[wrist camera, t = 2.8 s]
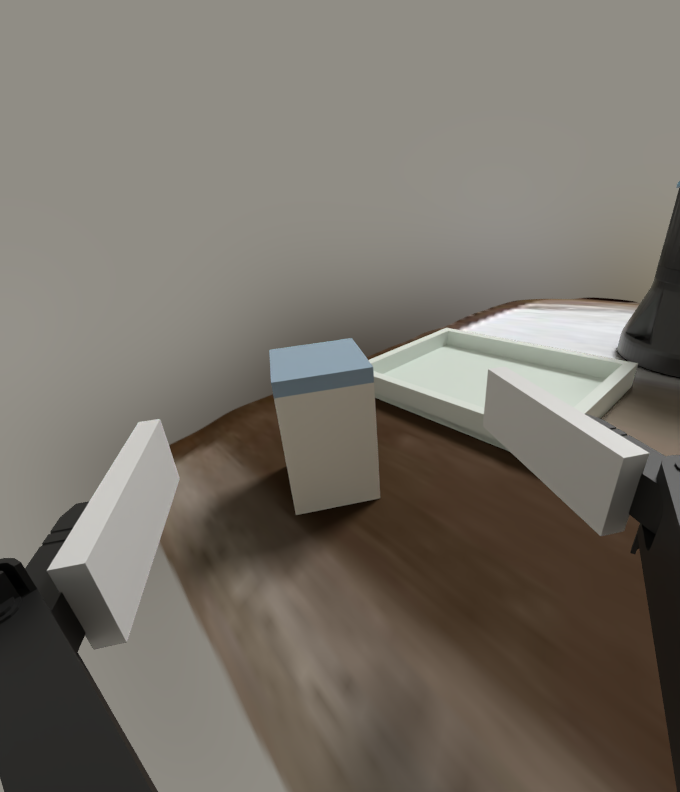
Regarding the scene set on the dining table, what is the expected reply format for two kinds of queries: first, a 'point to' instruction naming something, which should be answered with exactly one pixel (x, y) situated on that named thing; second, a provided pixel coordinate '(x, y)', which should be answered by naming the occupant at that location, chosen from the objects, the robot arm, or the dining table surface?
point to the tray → (468, 369)
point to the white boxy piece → (327, 423)
